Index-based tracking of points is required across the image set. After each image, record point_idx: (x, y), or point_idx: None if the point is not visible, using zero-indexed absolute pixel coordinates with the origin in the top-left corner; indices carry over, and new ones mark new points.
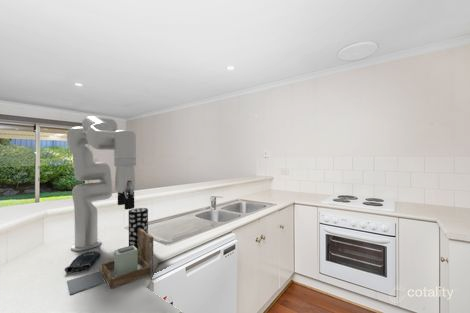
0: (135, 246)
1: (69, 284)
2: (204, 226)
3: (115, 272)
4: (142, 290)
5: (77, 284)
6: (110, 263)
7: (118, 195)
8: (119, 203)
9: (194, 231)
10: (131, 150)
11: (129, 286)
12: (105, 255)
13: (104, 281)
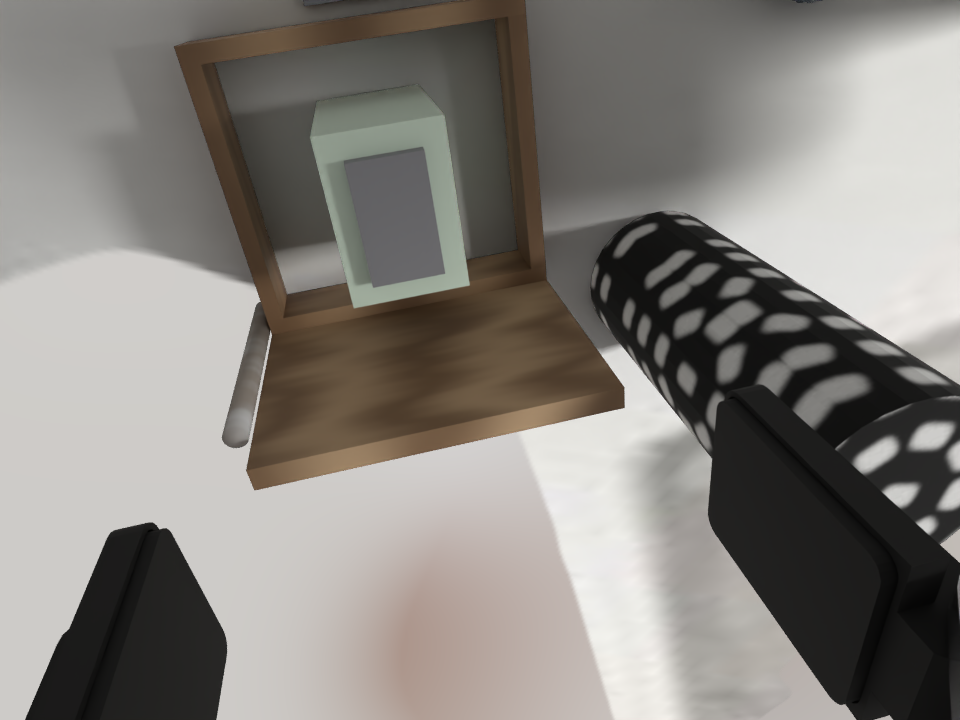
0: (633, 281)
1: None
2: (745, 661)
3: (387, 93)
4: (80, 237)
5: None
6: (509, 66)
7: (899, 573)
8: (735, 432)
9: (718, 608)
10: None
11: (170, 167)
12: (791, 40)
13: (312, 2)
